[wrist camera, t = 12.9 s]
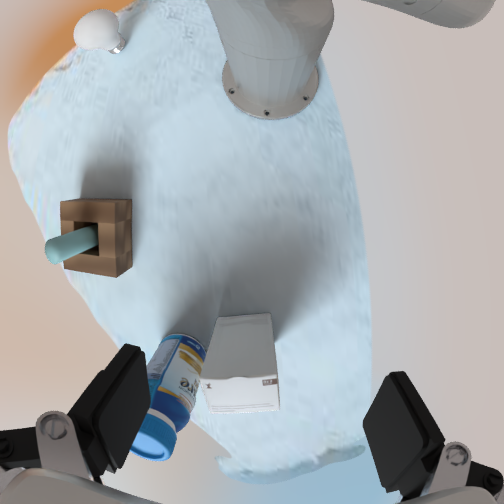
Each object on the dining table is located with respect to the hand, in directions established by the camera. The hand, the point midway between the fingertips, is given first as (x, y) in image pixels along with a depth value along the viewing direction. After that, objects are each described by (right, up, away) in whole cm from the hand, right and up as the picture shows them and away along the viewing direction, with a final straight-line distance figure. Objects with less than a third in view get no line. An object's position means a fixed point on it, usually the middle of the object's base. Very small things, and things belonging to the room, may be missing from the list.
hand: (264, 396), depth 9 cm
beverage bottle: (-12, -11, +33) cm, 37 cm away
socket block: (-23, +8, +28) cm, 37 cm away
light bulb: (-21, +37, +21) cm, 48 cm away
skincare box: (-1, -6, +31) cm, 32 cm away
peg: (-23, +8, +28) cm, 37 cm away
